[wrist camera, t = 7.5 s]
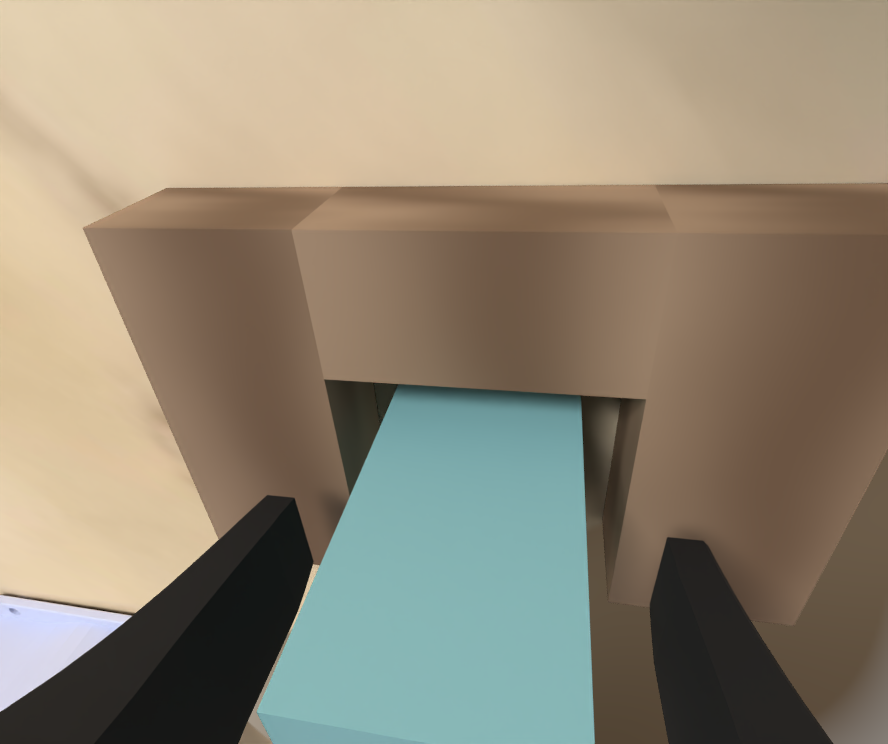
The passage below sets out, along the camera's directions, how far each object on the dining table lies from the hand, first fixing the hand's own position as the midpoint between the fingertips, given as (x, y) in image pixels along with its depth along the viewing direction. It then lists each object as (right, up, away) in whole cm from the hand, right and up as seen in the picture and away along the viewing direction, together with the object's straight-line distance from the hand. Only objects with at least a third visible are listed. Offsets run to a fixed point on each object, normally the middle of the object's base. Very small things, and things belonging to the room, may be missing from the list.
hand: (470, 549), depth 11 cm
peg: (+1, +2, +3) cm, 4 cm away
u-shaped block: (+1, +3, +2) cm, 4 cm away
